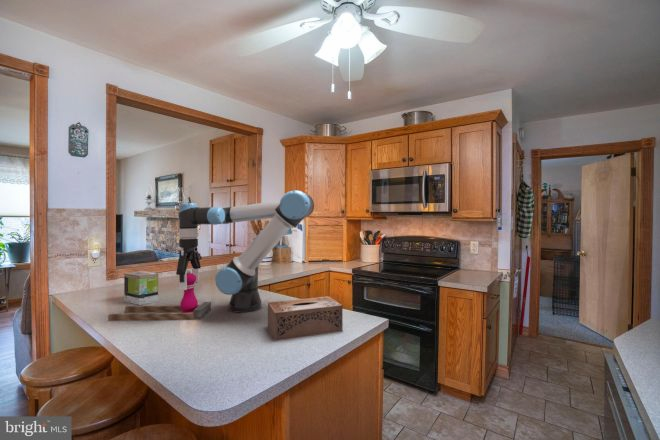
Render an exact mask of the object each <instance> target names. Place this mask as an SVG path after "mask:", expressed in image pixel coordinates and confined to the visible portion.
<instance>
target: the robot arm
mask: <svg viewBox="0 0 660 440" xmlns="http://www.w3.org/2000/svg"><path fill="white" fill-rule="evenodd" d="M314 209H315V202H314V199H313V198H312V197H311V195H309V193H304V192H303V191H301V190H297V189H296V190H291V191H290V190H289V191H287V192H285V194H283V195H282V196H281V198H280V200H275V201H268V202H260V203H252V204H244V205H243V204H242V205H238V206H228V207H220V206H219V207H217V206H208V207H198V204H197V203H195V202H194V203H193V202H189V203H188V202H183V203H182V202H181V203H180V204H179V205H178V234H179V235H178V237H179V238H180V239H179V240H178V243H179V248H181V249H182V250H179V254H178V255H179V256H178V259H177V260H178V261H177V265H176V272H175V273H176V275H178V281H179V283H178V285H179V288H178V289H179V291H184V290H187V279H186V274H187V270H188V265H189V263H190V264H191V268H192V269H191V273H192V274H194V275H195V276H196V281H195V283H194V284H199V282H200V280H199V279H200V278H199V277H200V276H199V269H201V260H200V257H199V253H198V246H199V239H198V237H199V230H198V226H200V225H207V226H208V225H214V226H215V225H227V224H233V223H239V222H240V223H241V222H249V221H258V220H266V219H270V221H269V222H268V223H267V224H266V225H265V226H264V228H263V229H261V230H260V232H259V233H258V234H257V235H256V236H255V238H253V240H252V241H251V243H250V244H249V245H248V246H247V247H246V248H245V249H244V250H243V252H242V253H241V254H240V255H239V256H234V257H233V258H232V259H231V260H230V261H229V263H228V264H227V265H226V266H225V267H222V268H221V269H220V270H219V271H218V272H217V273H216V275H215V278H214V279H215V285H216V287H217V289H218V290H219V292H220V293H222V294H224V295H226V296H231V297H230V300H229V303H228V310H229V311H231V312H234V313H247V312H248V313H249V312H254V311H257V310H260V309H262V306H263V304H262V303H263V302H262V298H261V296H260V293H259V270H258V269H259V265H260V264H261V263H262V262H263V260H265V258H266V257H267V256H268V255H269V254H270V253H271V251H272V250H273V249H274V248H275V247H276V246H277V244H278V243H279V242H280V241H281V240H282V238H284V236H285V235H286V234H287V233H288V232H289V230H291V229H296V228H297V227H298V226H299V224H301V222H302V221H303V220H304V219H306V218H308V217H310V216H311V214H313V212H314Z"/></svg>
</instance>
